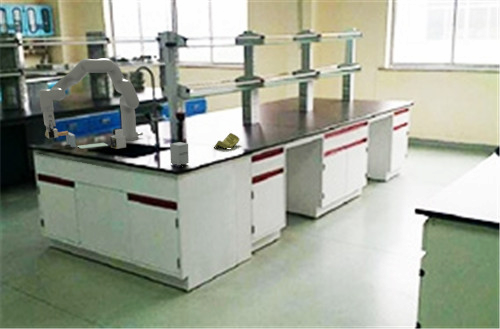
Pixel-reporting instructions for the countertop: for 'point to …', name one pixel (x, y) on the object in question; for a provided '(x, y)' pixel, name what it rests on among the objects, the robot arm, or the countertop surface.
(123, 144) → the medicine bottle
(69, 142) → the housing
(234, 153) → the countertop surface
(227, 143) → the plastic component
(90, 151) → the countertop surface
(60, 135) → the plug
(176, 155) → the supplement box
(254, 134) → the countertop surface
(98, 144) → the mat
